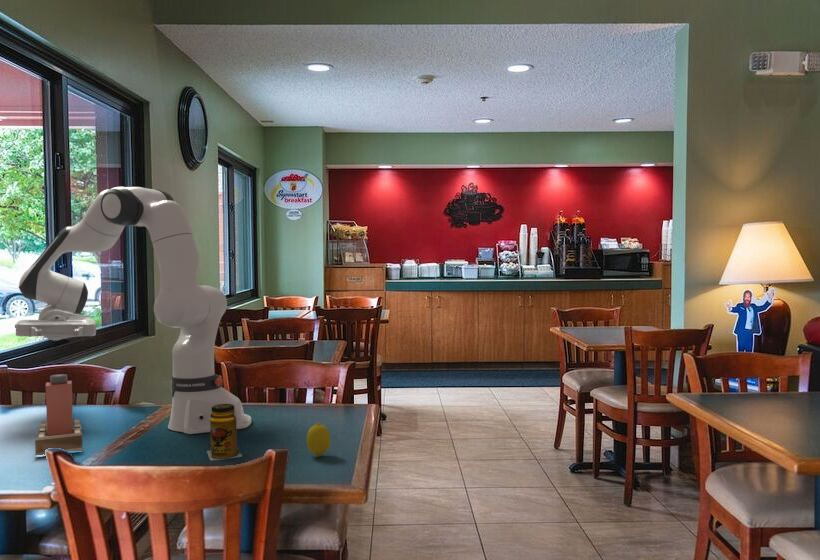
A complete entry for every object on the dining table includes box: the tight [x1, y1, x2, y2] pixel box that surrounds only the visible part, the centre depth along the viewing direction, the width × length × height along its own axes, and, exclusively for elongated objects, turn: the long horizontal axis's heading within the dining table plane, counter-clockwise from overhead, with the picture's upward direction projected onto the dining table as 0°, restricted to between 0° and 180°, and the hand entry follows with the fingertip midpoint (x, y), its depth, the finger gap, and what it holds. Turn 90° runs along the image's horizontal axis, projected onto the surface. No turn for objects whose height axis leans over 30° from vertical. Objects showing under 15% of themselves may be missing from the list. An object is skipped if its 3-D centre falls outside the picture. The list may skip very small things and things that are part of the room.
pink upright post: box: [45, 373, 74, 436], centre depth 180 cm, size 5×6×15 cm
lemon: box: [306, 422, 331, 458], centre depth 161 cm, size 6×6×8 cm
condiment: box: [206, 404, 243, 462], centre depth 163 cm, size 7×8×12 cm
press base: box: [34, 418, 83, 456], centre depth 175 cm, size 24×10×4 cm, turn 26°
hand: (57, 333), depth 188 cm, fingers open, 8 cm apart
